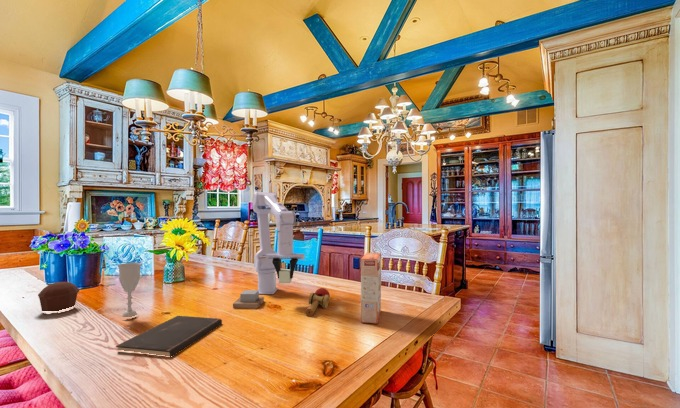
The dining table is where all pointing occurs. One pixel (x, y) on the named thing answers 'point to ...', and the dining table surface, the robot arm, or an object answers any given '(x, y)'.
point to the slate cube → (249, 295)
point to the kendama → (317, 300)
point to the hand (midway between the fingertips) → (285, 278)
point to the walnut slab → (248, 303)
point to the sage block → (284, 276)
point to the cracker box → (370, 287)
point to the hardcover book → (171, 335)
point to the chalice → (129, 283)
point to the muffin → (58, 296)
